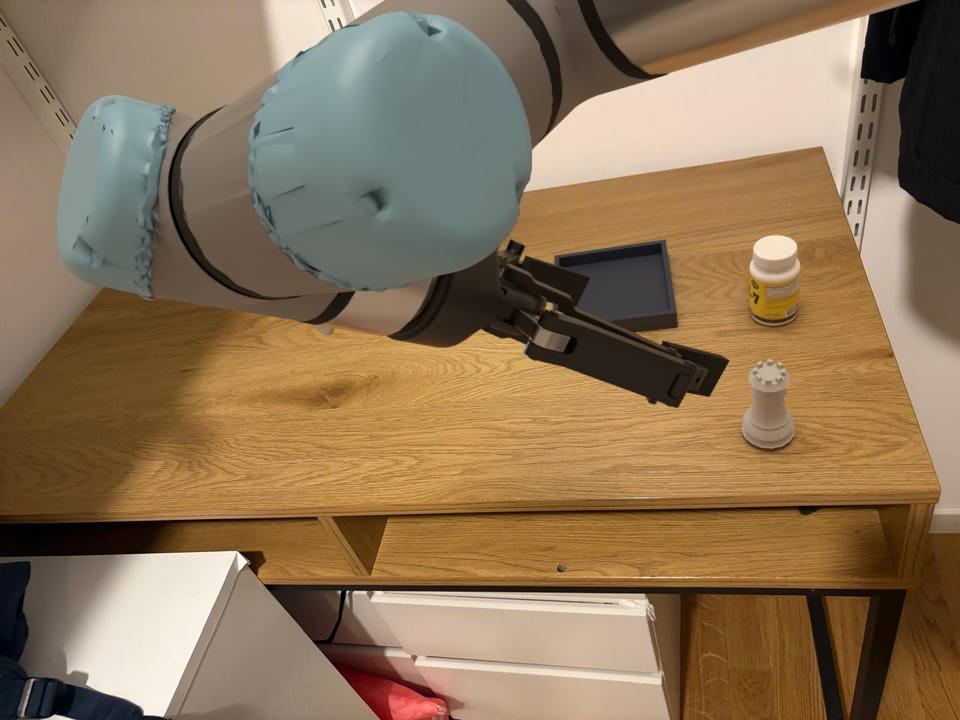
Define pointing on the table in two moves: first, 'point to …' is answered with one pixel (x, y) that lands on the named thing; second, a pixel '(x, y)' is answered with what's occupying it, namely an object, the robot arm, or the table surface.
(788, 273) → the supplement bottle
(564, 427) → the table surface
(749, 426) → the rook chess piece
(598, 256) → the dark tray
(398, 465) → the table surface
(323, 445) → the table surface
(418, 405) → the table surface
